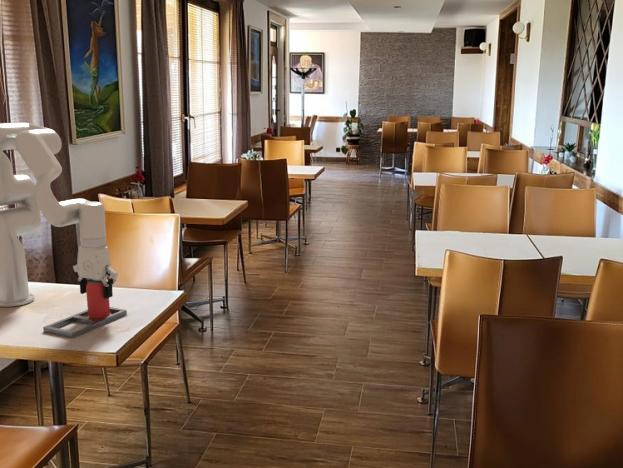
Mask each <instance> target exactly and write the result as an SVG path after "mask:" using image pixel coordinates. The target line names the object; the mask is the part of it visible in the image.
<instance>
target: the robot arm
mask: <svg viewBox="0 0 623 468" xmlns="http://www.w3.org/2000/svg"><path fill="white" fill-rule="evenodd" d="M62 145H63V144H62V139H61V138H60V135H59V134H58V133H57V132H56V131H55V130H54V129H51V128H48V127H45V126H42V125H41V126H40V125H38V124H33V123H30V122H0V207H3V206H10V205H16V207H11V208H6V209H1V210H0V307H1V308H10V307H18V306H24V305H27V304H29V303H32V302H33V301H35V295H34V293H30V291H29V290H30V289H29V281H28V278H29V277H28V270H27V259H26V251H25V248H24V245H23V244H22V243H21V241H20V240H19V239H18V237H20V236H25V235H29V234H33V233H35V232H37V231H39V229H40V228H41V223H42V217H41V214H42V215H43V217H44V219H45V220H46V221H47V222H48V223H49V224H50V225H52V226H53V227H58V228H61V227H66V226H70V225H75V224H76V225H77V224H78V225H79V238H78V239H79V241H80V245H79V246H78V251H77V260H76V261H77V264H75V265H73V266H72V269H73V271H74V272H75V273H74V274H75V276H76V277H77V281H78V282H79V290H80V291H79V293H80V294H82V295H83V294H86V286H87V283H88V282H87V281H88V280H89V279H91V280H97V281H100V280H102V282H103V284H104V285H105V286H104V287H103V292H104V299H107V298H109V299H110V298H112V297H113V296H114V295H113V294H114V293H113V285H115V282H116V281H117V277H118V276H119V273H118V272H117V271H116V270H114V269H113V268H112V266H111V265H112V263H111V256H110V252H109V247H108V246H107V232H106V231H107V230H106V229H107V228H106V227H107V226H106V209H105V208H106V207H105V205H104V203H102V202H99V201H90V200H88V199H85V198H73V199H66V200H61V201H58V200H57V198H56V197H55V195H54V193H53V191H52V189H51V183H52V182H53V181H55V180H56V179H57V178H58V177H59V176H60V175H61V174H62V172H63V167H62V165H61V164H60V162H59V160H58V159H57V158H56V156H55V155H57V154H59V152H60V151H61V149H62ZM7 150H9V151H11V150H17V151H18V153H19V155H20V157H21V158H22V160H23V162H24V163H25V164H26V166H27V168H28V169H29V171H30V172H31V174H32V176H33V178H35V181H36V182H34V180H33V179H32V178H31V177H30V175H29V176H28V175H27V174H21V173H20V174H19V173H18V174H14V173H13V168H12V163H11V160H10V159H9V158H8V156H7V154H6V153H5V152H3V151H7Z"/></svg>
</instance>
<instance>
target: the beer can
mask: <svg viewBox="0 0 623 468" xmlns="http://www.w3.org/2000/svg"><path fill="white" fill-rule="evenodd" d="M87 282H88V283H87V286H86V293H85V294H86V302H87V303H86V304H87V305H86V306H87V310H88V316H87V317H89V318H94V319H103V318H105V317H107V316H109V315H110V314H111V313H110V307H111V306H110V298H107V299H104V292H103V287H104V286H105V285H104V284H103V282H102V280H100V281H97V280H91V279H88V281H87Z"/></svg>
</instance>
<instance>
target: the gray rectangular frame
mask: <svg viewBox="0 0 623 468" xmlns="http://www.w3.org/2000/svg"><path fill="white" fill-rule="evenodd" d="M127 314H128V311H127V309H123V308H118V307H112V306H110V315H109V316H107V317H105V318H103V319H94V318H89V317H88V309H86V310H83V311H81V312H79V313H76V314H73V315H71V316H68V317H66V318H65V317H64V318H63V319H60V320H57V321H55V322H53V323H50V324H47V325H46V326H43V329H42V330H43V331H42V332H43V333H47V334H51V335H56V336H60V337H66V338H69V339H74V338H76V337H79V336H81V335H83V334H86V333H88V332H91V331H93V330H95V329H97V328H99V327H102V326H104V325H106V324H109V323H111V322H113V321H115V320H118V319H120V318H123V317H124V316H126V315H127ZM71 323H79V324H83V325H84V326H82V327H80V328H77V329H74V330H68V329H63V328H61V327H64V326H66V325H68V324H71Z"/></svg>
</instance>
